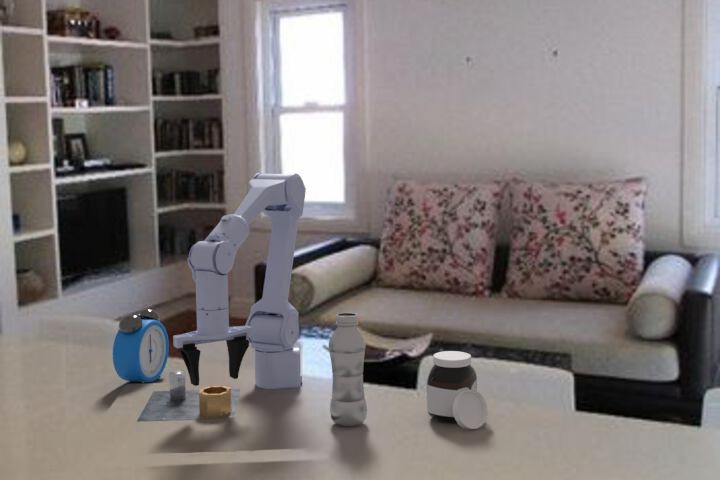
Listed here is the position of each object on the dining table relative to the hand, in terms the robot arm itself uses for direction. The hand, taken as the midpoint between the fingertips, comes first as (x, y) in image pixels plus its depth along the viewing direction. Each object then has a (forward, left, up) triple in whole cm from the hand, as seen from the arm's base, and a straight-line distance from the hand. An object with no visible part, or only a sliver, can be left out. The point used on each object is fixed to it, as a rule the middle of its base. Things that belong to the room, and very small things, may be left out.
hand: (214, 381), depth 158 cm
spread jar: (-44, +5, -8) cm, 45 cm away
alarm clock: (+18, -27, -8) cm, 33 cm away
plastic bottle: (-24, +5, -8) cm, 26 cm away
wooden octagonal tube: (0, 0, -6) cm, 6 cm away
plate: (+5, -5, -7) cm, 10 cm away
